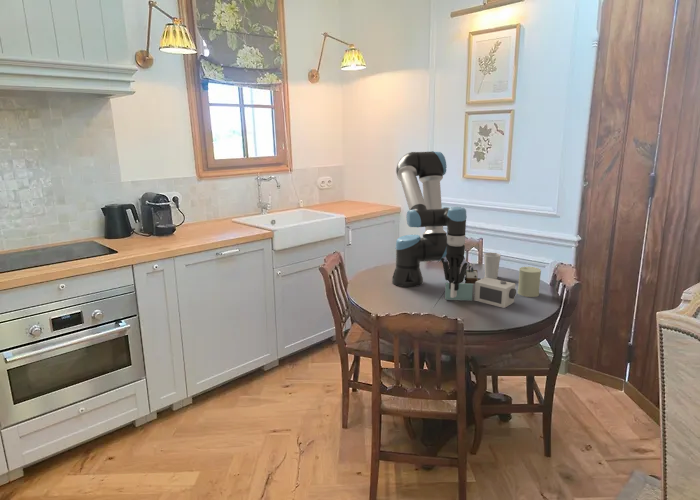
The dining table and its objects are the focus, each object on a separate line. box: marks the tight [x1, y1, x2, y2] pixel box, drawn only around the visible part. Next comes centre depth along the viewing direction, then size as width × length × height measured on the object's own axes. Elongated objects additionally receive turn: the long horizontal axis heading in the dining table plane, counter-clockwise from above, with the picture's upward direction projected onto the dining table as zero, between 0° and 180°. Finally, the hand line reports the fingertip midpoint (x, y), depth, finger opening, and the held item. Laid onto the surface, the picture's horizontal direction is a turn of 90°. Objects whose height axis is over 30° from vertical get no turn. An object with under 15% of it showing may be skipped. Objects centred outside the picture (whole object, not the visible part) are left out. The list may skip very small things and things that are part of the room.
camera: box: [464, 263, 481, 284], centre depth 217 cm, size 15×8×10 cm, turn 163°
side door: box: [444, 282, 475, 301], centre depth 201 cm, size 12×2×8 cm, turn 81°
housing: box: [474, 276, 517, 309], centre depth 198 cm, size 15×9×9 cm, turn 46°
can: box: [517, 266, 542, 298], centre depth 206 cm, size 9×9×12 cm
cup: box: [483, 252, 501, 280], centre depth 230 cm, size 8×8×12 cm
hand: (453, 296), depth 199 cm, fingers closed
